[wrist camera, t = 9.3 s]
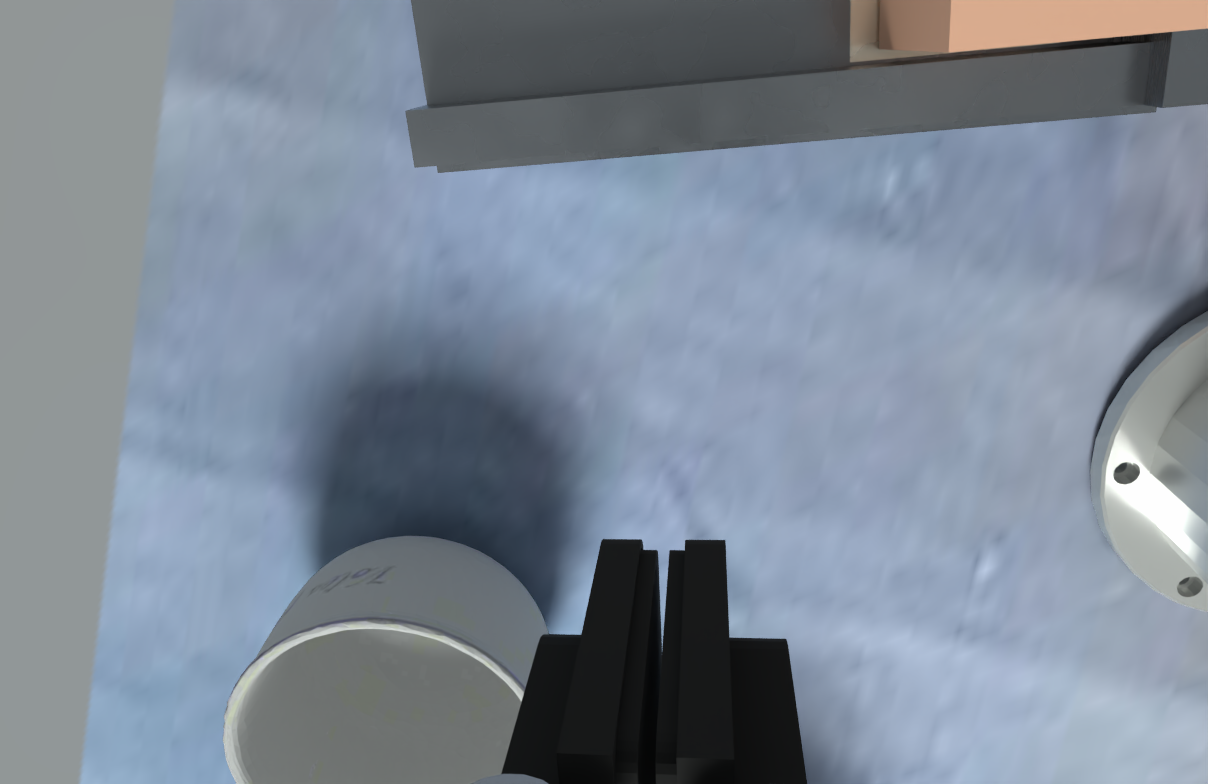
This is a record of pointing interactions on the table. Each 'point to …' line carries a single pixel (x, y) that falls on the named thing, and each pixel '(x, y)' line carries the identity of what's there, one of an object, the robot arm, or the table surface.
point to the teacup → (388, 671)
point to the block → (1027, 22)
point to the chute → (744, 79)
